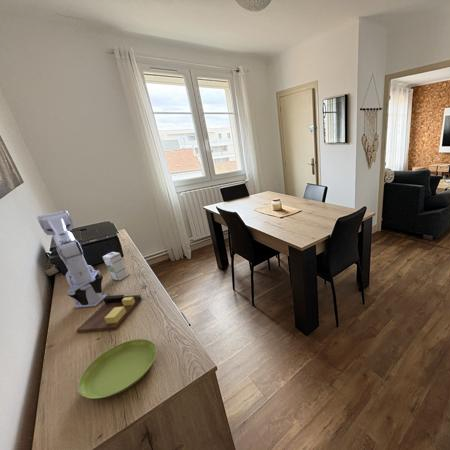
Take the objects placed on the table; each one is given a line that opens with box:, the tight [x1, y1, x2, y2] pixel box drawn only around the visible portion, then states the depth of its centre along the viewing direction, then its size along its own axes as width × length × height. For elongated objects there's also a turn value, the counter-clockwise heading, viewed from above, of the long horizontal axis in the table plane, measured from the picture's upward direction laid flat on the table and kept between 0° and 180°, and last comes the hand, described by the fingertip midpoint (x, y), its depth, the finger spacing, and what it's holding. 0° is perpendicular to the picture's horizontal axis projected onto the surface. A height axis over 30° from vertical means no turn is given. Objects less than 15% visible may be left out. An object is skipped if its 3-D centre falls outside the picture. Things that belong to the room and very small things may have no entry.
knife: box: [102, 294, 143, 304], centre depth 110 cm, size 16×2×3 cm, turn 93°
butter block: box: [105, 307, 126, 324], centre depth 99 cm, size 4×6×3 cm, turn 3°
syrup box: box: [102, 251, 129, 281], centre depth 129 cm, size 6×6×14 cm
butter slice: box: [122, 297, 135, 306], centre depth 107 cm, size 4×2×3 cm, turn 93°
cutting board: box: [76, 299, 142, 334], centre depth 103 cm, size 15×18×2 cm
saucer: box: [77, 338, 157, 400], centre depth 77 cm, size 21×21×3 cm
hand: (92, 298), depth 100 cm, fingers open, 7 cm apart
